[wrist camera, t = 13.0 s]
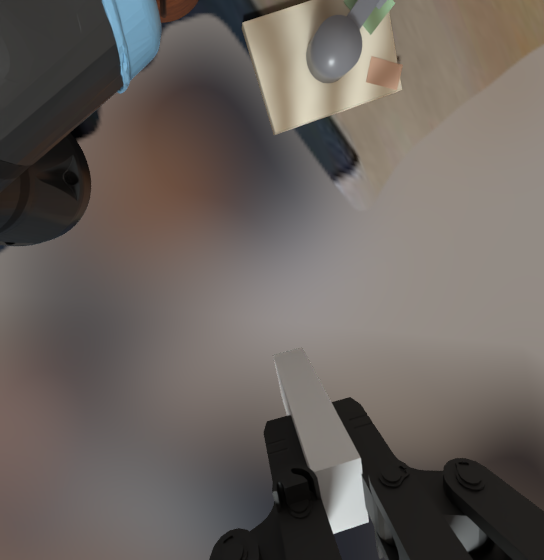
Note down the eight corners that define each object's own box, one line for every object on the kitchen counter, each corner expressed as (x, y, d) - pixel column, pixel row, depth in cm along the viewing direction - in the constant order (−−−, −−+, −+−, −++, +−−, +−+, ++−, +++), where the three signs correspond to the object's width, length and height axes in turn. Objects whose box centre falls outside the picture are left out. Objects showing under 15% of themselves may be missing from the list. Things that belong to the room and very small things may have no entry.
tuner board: (273, 135, 37) (275, 133, 35) (238, 15, 33) (238, 9, 31) (402, 90, 38) (408, 87, 36) (382, -31, 34) (388, -39, 32)
